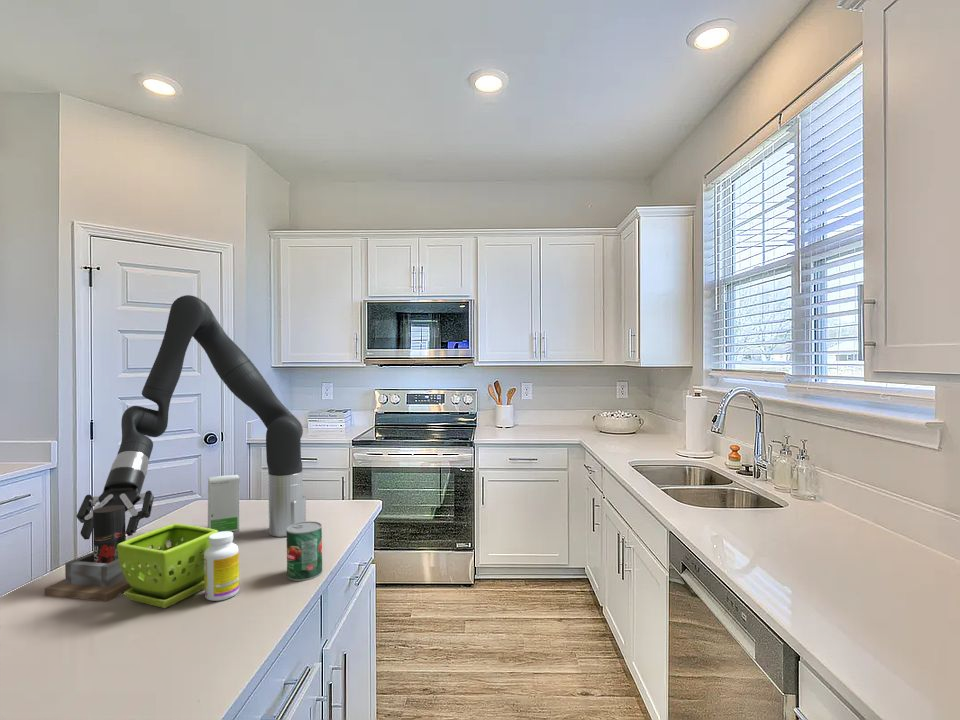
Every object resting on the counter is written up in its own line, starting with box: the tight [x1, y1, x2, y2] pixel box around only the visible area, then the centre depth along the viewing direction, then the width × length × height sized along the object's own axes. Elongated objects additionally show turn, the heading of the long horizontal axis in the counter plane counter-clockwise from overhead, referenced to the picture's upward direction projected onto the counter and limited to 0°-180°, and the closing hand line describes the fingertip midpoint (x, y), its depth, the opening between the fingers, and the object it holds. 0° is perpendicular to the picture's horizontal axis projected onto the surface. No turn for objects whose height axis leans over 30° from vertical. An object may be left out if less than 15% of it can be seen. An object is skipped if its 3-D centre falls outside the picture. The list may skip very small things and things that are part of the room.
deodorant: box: [92, 505, 127, 564], centre depth 116 cm, size 6×6×15 cm
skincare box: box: [207, 474, 241, 532], centre depth 150 cm, size 8×7×16 cm
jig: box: [44, 544, 171, 602], centre depth 119 cm, size 16×22×6 cm
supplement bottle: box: [204, 531, 240, 602], centre depth 109 cm, size 7×7×13 cm
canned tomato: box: [285, 520, 324, 582], centre depth 119 cm, size 8×8×11 cm
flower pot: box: [117, 523, 218, 609], centre depth 109 cm, size 14×14×13 cm
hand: (107, 536), depth 115 cm, fingers open, 8 cm apart
